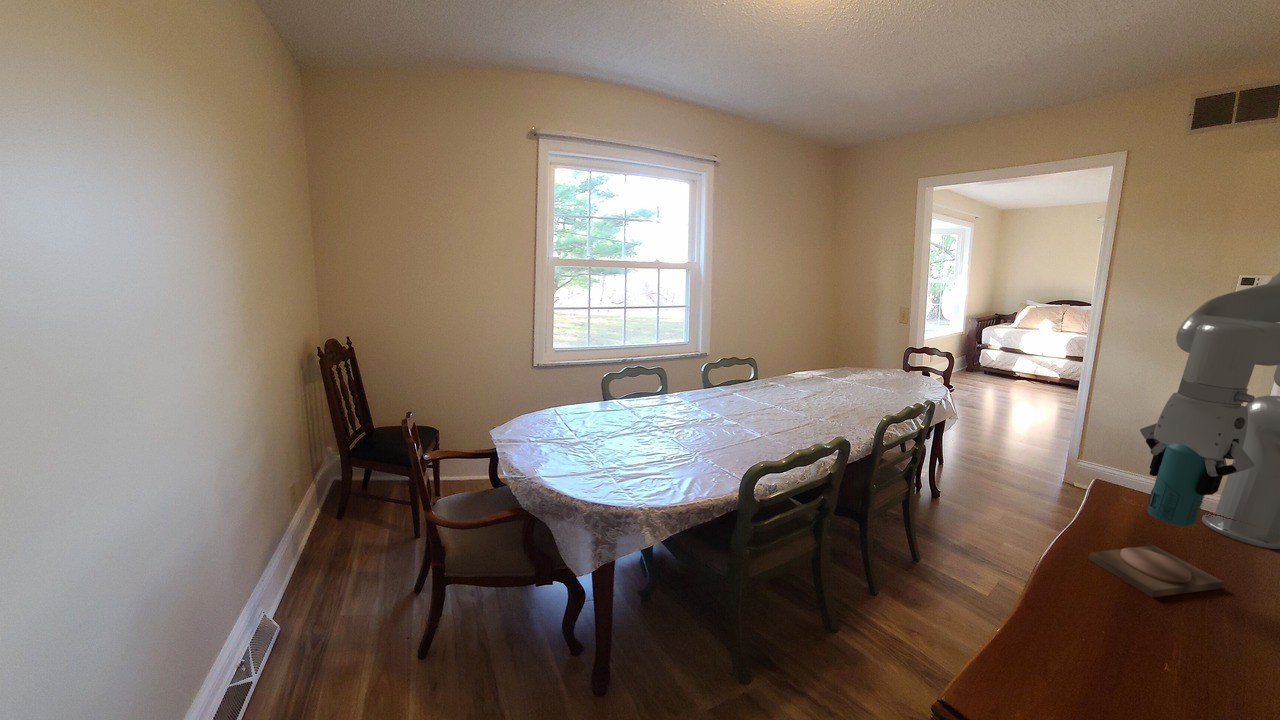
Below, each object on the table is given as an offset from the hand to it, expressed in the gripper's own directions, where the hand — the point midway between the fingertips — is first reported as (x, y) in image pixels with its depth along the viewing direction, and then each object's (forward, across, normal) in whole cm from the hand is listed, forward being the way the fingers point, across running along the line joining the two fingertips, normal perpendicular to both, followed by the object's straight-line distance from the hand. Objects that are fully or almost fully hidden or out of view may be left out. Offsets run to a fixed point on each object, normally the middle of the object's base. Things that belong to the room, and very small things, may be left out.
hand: (1180, 483), depth 89 cm
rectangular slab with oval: (+19, 0, 0) cm, 19 cm away
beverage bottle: (+9, 0, 0) cm, 9 cm away
